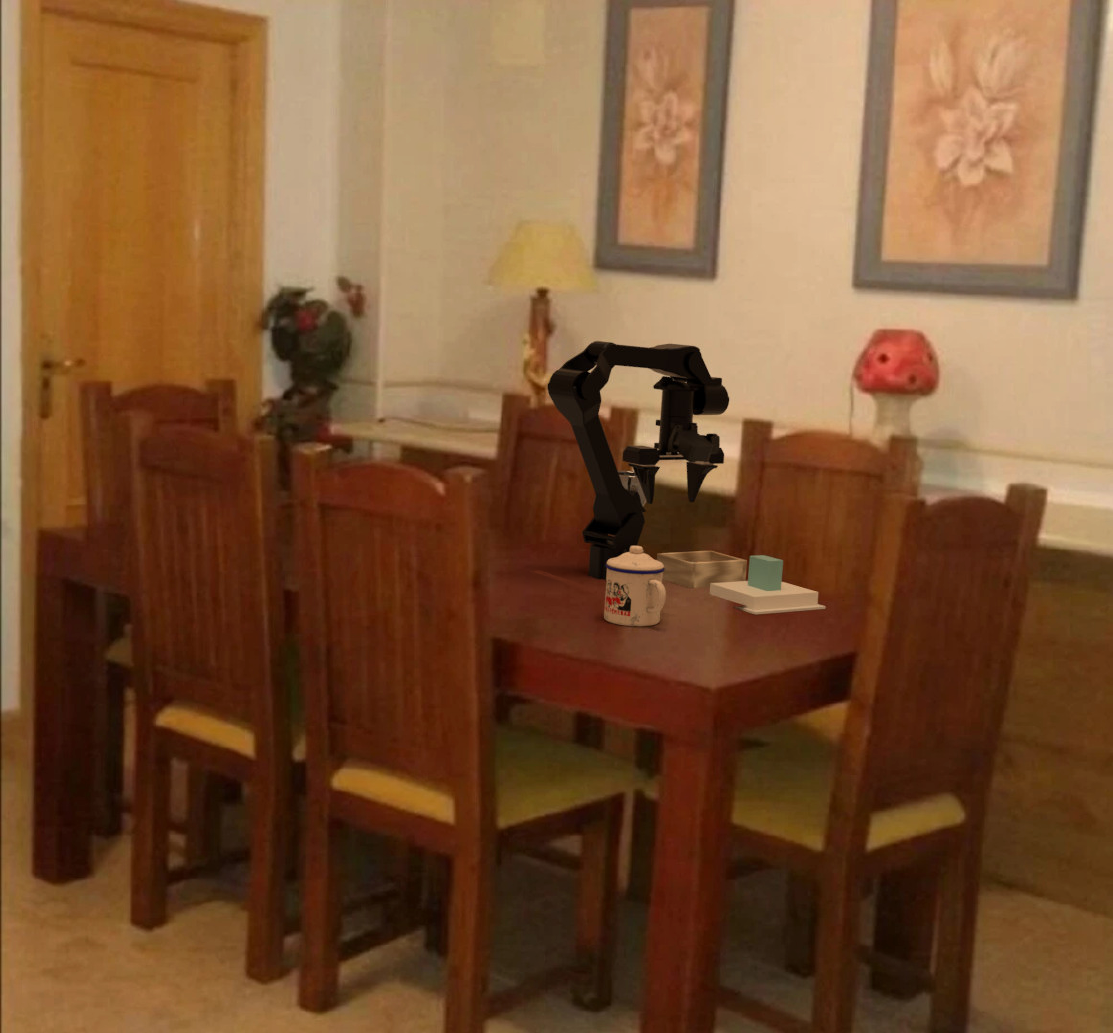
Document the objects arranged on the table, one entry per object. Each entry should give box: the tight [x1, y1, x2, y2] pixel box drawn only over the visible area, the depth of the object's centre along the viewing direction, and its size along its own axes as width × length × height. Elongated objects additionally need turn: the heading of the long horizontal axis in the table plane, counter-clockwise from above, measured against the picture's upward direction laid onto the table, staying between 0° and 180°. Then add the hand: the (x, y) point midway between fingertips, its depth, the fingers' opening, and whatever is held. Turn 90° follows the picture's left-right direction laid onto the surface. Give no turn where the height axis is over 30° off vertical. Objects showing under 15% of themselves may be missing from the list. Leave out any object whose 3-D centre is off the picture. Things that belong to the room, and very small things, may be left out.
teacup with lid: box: [603, 545, 667, 627], centre depth 251 cm, size 12×9×12 cm
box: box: [656, 550, 748, 589], centre depth 285 cm, size 12×10×5 cm
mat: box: [732, 603, 826, 615], centre depth 272 cm, size 15×14×1 cm
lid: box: [709, 554, 819, 610], centre depth 272 cm, size 14×12×7 cm
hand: (670, 503), depth 292 cm, fingers open, 9 cm apart
